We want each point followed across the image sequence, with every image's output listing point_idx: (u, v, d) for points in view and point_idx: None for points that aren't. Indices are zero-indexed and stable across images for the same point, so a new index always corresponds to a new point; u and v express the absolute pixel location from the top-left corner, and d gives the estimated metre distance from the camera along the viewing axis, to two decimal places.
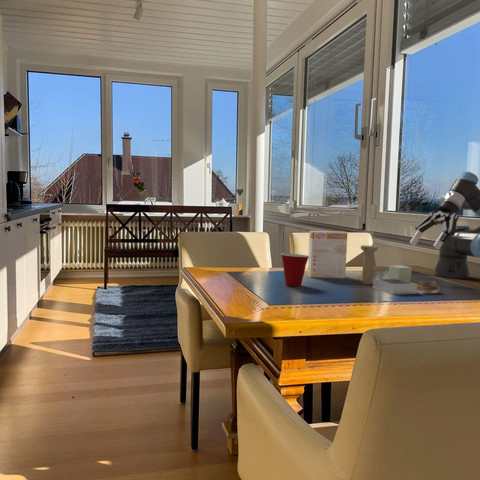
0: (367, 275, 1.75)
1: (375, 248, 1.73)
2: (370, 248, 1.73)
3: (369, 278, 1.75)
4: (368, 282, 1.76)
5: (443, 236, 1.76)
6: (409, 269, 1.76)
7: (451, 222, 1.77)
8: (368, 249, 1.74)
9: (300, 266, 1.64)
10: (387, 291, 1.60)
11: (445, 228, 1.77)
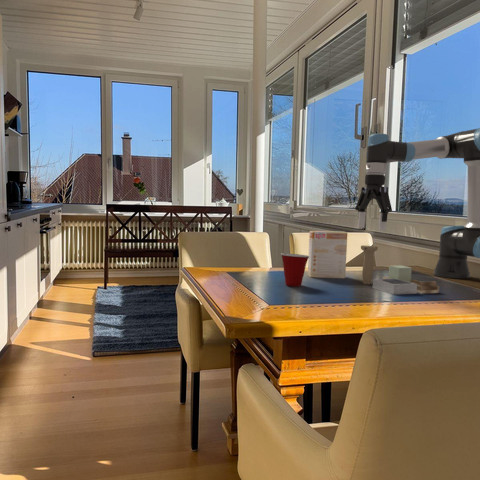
0: (367, 275, 1.75)
1: (375, 248, 1.73)
2: (370, 248, 1.73)
3: (369, 278, 1.75)
4: (368, 282, 1.76)
5: (383, 216, 1.67)
6: (409, 269, 1.76)
7: (383, 199, 1.67)
8: (368, 249, 1.74)
9: (300, 266, 1.64)
10: (387, 291, 1.60)
11: (381, 207, 1.68)
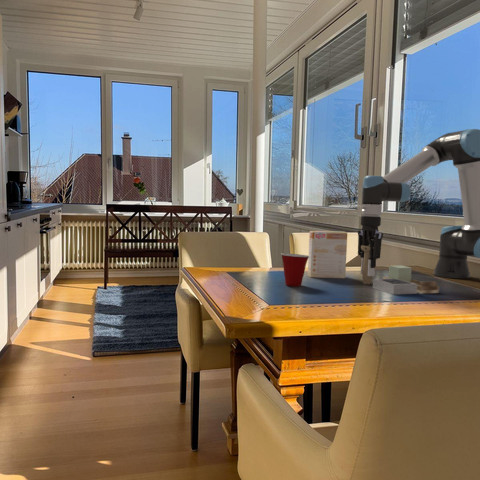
0: None
1: None
2: None
3: (369, 278, 1.75)
4: (368, 282, 1.76)
5: (371, 263, 1.73)
6: (409, 269, 1.76)
7: (374, 246, 1.70)
8: (368, 249, 1.74)
9: (300, 266, 1.64)
10: (387, 291, 1.60)
11: (370, 253, 1.73)
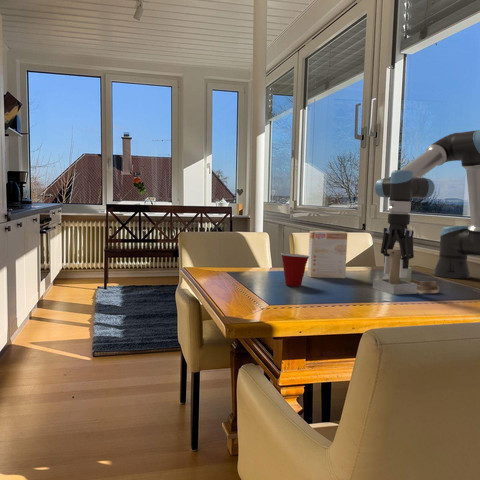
0: (394, 281, 1.63)
1: None
2: (398, 252, 1.61)
3: None
4: None
5: (404, 263, 1.58)
6: (409, 269, 1.76)
7: (406, 244, 1.57)
8: (396, 253, 1.61)
9: (300, 266, 1.64)
10: (387, 291, 1.60)
11: (402, 253, 1.58)
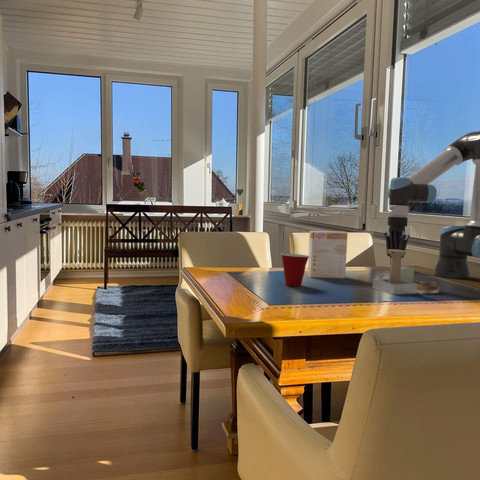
0: (394, 281, 1.63)
1: (403, 252, 1.61)
2: (398, 252, 1.61)
3: None
4: None
5: None
6: (412, 270, 1.74)
7: (400, 246, 1.76)
8: (396, 253, 1.61)
9: (300, 266, 1.64)
10: (387, 291, 1.60)
11: None
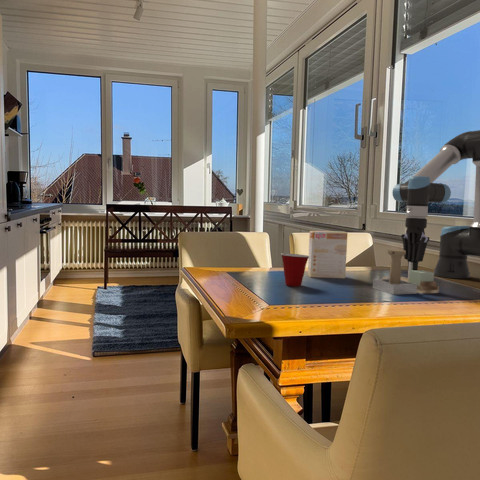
0: (394, 281, 1.63)
1: (403, 252, 1.61)
2: (398, 252, 1.61)
3: None
4: None
5: (413, 266, 1.70)
6: (431, 274, 1.64)
7: (419, 249, 1.66)
8: (396, 253, 1.61)
9: (300, 266, 1.64)
10: (387, 291, 1.60)
11: (413, 256, 1.69)
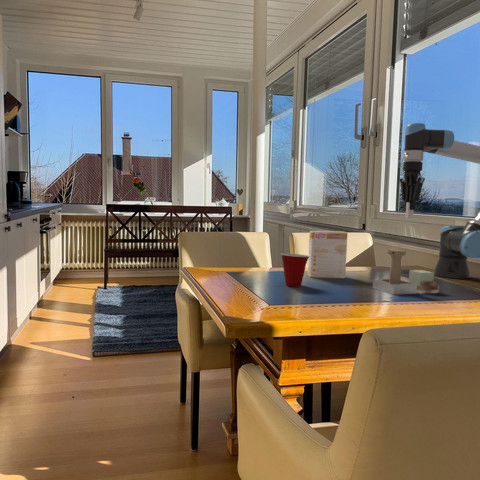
0: (394, 281, 1.63)
1: (403, 252, 1.61)
2: (398, 252, 1.61)
3: None
4: None
5: (410, 205, 1.87)
6: (431, 274, 1.65)
7: (415, 189, 1.84)
8: (396, 253, 1.61)
9: (300, 266, 1.64)
10: (387, 291, 1.60)
11: (410, 196, 1.87)
